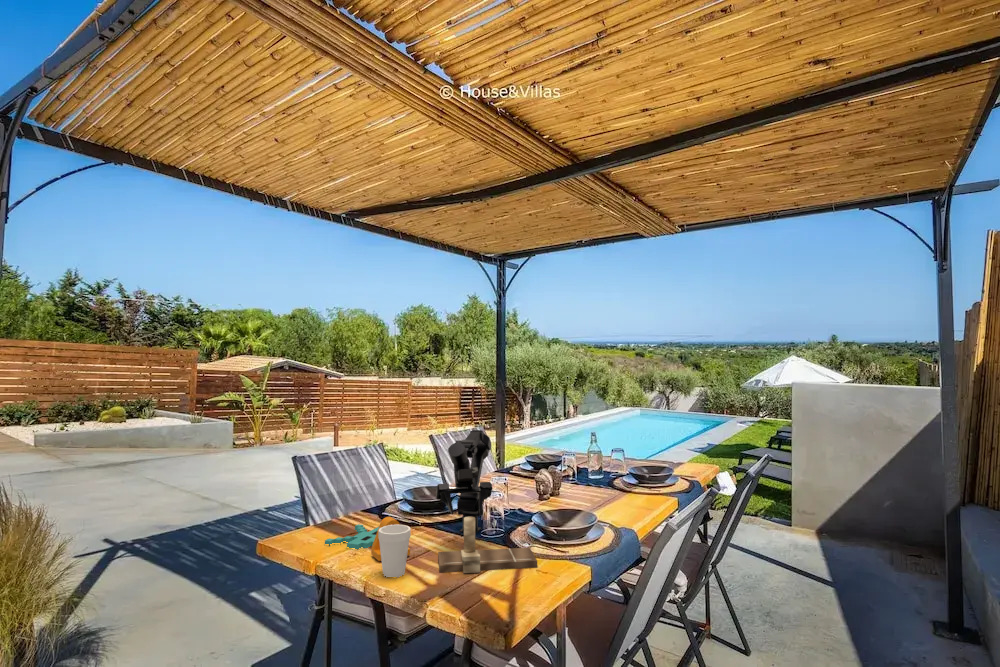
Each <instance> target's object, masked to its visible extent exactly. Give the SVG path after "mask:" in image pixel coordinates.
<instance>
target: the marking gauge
mask: <svg viewBox="0 0 1000 667" xmlns="http://www.w3.org/2000/svg"><path fill="white" fill-rule="evenodd" d="M477 550H478V549H476V533H475V517H464V532H463V549H461V550H460V551H461V557H462V562H463V571H462V572H463V574H474V573H481V570H480V554H478V551H477Z"/></svg>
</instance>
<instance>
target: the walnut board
mask: <svg viewBox="0 0 1000 667" xmlns="http://www.w3.org/2000/svg"><path fill="white" fill-rule="evenodd" d="M477 551H478V554H480V571H494V570H495V571H497V570H514V569H516V570H517V569H531V568H532V569H536V568H538V559H537V558H536V556H535V555H534V553H533V552H532V550H531V548H530V547H517V548H510V547H509V548H497V549H496V548H495V549H477ZM437 557H438V559H437V560H438V571H439V573H451V572H452V573H454V572H455V573H456V572H457V571H459V572H463V562H462V557H461V550H448V551H447V550H446V551H438V554H437Z"/></svg>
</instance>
